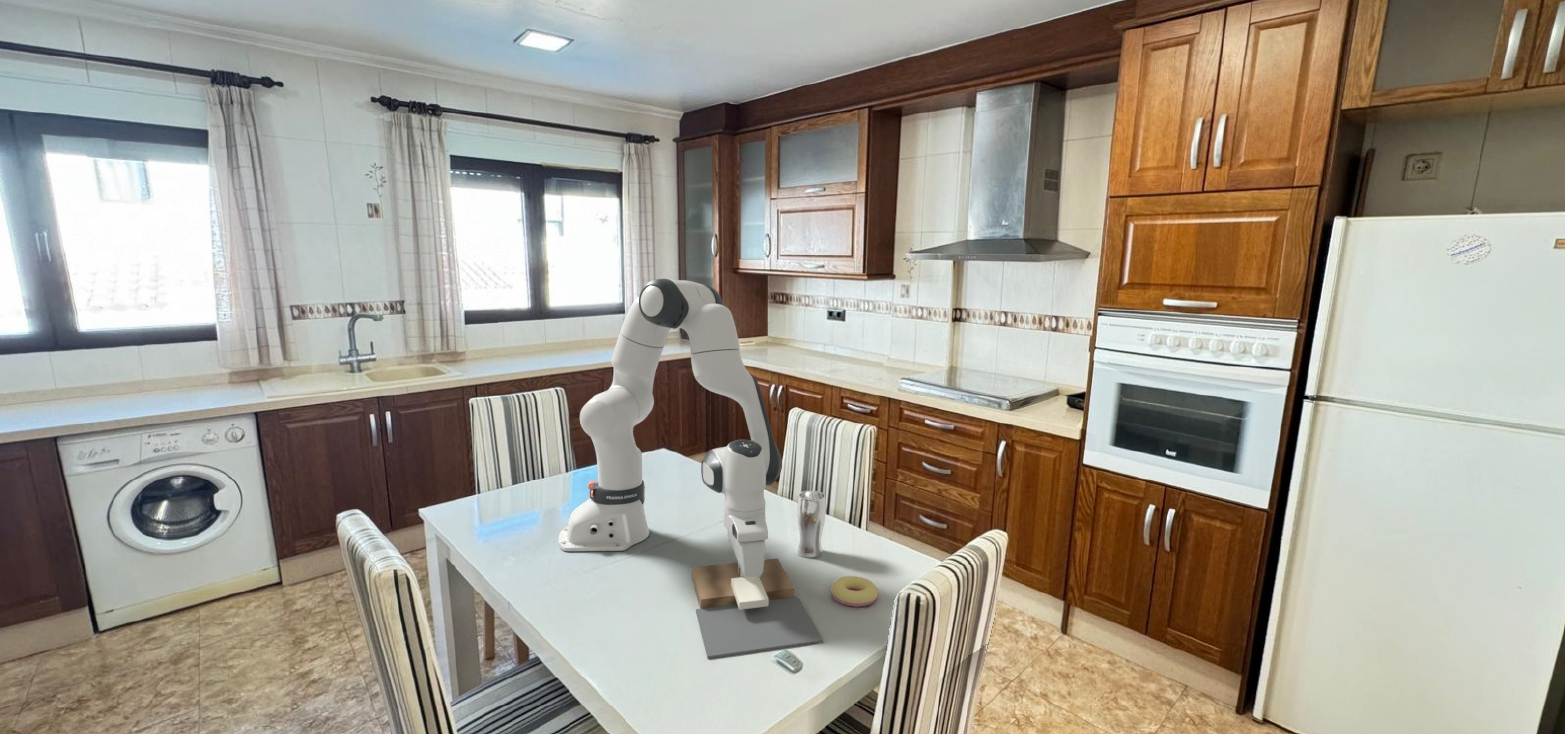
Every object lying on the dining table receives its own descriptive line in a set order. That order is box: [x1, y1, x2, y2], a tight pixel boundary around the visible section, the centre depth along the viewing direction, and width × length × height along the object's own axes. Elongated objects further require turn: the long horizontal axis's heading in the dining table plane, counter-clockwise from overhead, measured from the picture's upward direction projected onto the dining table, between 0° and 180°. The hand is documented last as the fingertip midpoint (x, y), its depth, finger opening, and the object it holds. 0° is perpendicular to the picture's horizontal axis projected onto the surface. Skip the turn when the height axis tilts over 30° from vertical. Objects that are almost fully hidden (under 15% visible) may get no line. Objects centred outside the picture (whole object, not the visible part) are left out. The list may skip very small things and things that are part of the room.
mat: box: [695, 596, 824, 660], centre depth 125 cm, size 22×16×1 cm
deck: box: [691, 558, 795, 609], centre depth 139 cm, size 20×14×2 cm
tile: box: [731, 577, 769, 610], centre depth 131 cm, size 6×9×2 cm, turn 15°
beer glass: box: [796, 490, 827, 559], centre depth 155 cm, size 7×7×15 cm
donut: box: [830, 575, 879, 608], centre depth 136 cm, size 10×5×9 cm
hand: (743, 577), depth 137 cm, fingers closed
